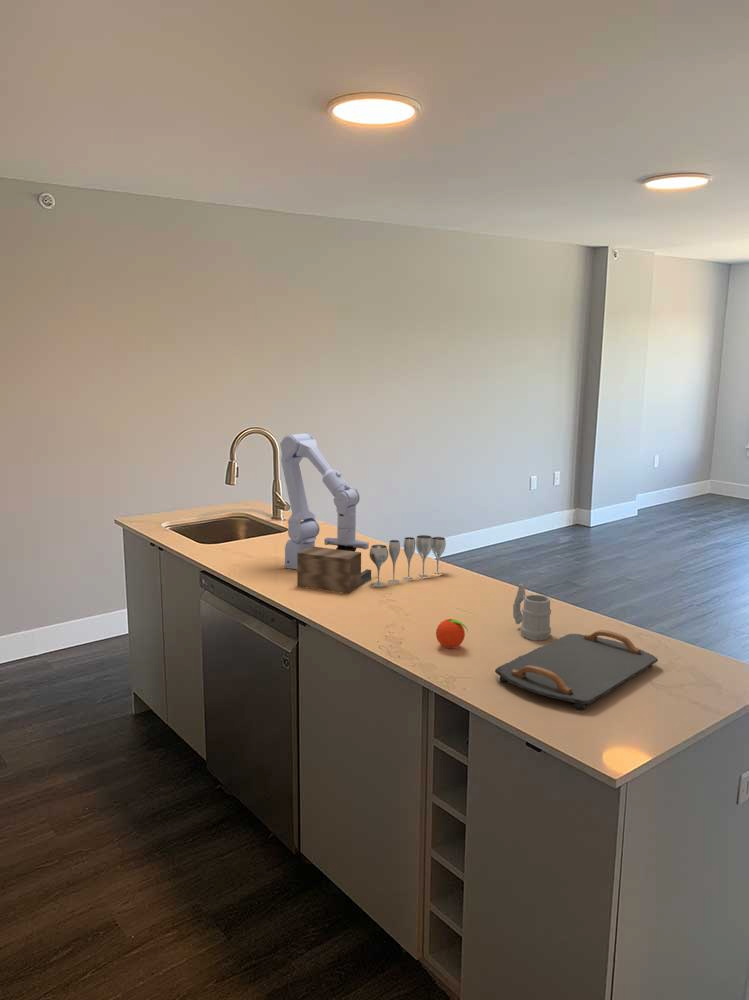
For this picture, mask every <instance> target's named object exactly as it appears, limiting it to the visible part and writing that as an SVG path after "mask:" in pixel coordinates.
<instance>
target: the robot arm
mask: <svg viewBox="0 0 749 1000" xmlns="http://www.w3.org/2000/svg"><path fill="white" fill-rule="evenodd" d="M279 446H280V449H281V459H280V460H281V468H282V472H283V475H284V481H285V485H286V491H287V496H288V499H289V505H290V509H291V515H290V517H289V518H288V520H287V525H288V528H287V534H288V537H289V539H288V540H287V541H286V543H285V545H284V565H283V568H284V569H285V568H286V569H292V570H297V553H298V552H300V551H302V550H304V549H307V548H309V547H311V546H313V547H316V546H315V545H316V542H315V540H317V537H318V535H319V533H320V524H319V522H318V521H317V519H316V515H315V514H314V513H313V512H312V511H310V510H309V505H308V499H307V497H306V496H307V495H306V492H305V486H304V482H303V477H302V471H301V468H300V463H301V462H302V459H303V458H306V459H308V460H309V462H311V464H312V465H313V466H314V467H315V468H316V469H317V471H318V472H319V473H320V474H321V475H322V483H323V484H324V485H325V487H326V488H327V490H328V491H329V492H330V494H331V495H332V496H333V497H334V498H333V503H334V505H335V508H336V512H337V525H336V527H337V536H336V537H326V538H324V542H323V543H324V544H323V545H325V546H328V545H329V546H337V547H336V548H335V549H338V550H346V551H354V552H357V549H363V550H368V549H369V547H370V546H369V544H370V543H369V542H368V541H363V540H358V539H356V533H357V532H356V525H357V524H356V521H357V520H356V518H357V516H356V515H357V514H356V513H357V511H356V509H357V505H358V504H359V502H360V500H361V499H360V493H359V492H358V489H356V488H354V487H352V486H350V485H349V484H348V483H347V481H346V480H345V479H344V478H343V477H342V473H341V472H340V471H338V470H337V469H332V468H331V466H330V465H329V463H328V461H327V460H326V458H325V457H324V456H323V454H322V452H321V451H320V449H319V448H318V442H317V440H316V439H314V436H313V435H312V434H311V433H309V432H303V433H295V434H291V433H290V434H286V435H285V436H283V438H282V440H281V442H280V444H279Z"/></svg>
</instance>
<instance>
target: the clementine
mask: <svg viewBox="0 0 749 1000" xmlns="http://www.w3.org/2000/svg"><path fill="white" fill-rule="evenodd" d="M464 628H465V629H466V631H467V632H469V631H468V628H467V626H466V625H465V624H464V623H463V622H461V621H459V620H456V619H454V618H448V619H444V620H443V621H441V622H440V623H439V624H438V625H437V628H436V631H435V637H436V640H437V642H438V643H439V644H440V645H441V646H442V647H444V648H447V649H456V648H458V647H459V646H461V644H462V643H463V641H464V639H465V637H466V635H465V634H466V632H465V629H464Z"/></svg>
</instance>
